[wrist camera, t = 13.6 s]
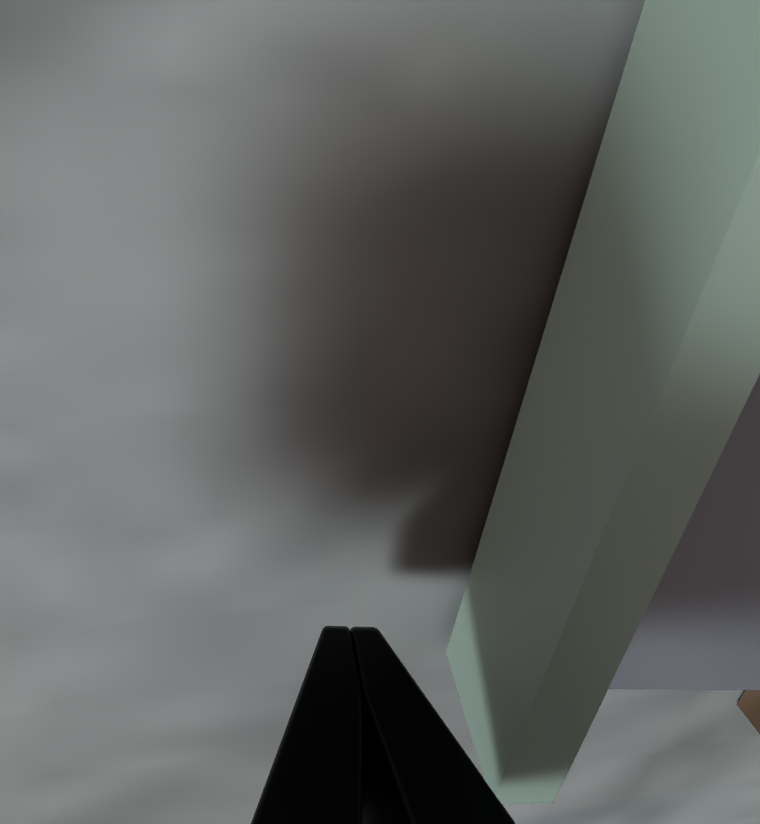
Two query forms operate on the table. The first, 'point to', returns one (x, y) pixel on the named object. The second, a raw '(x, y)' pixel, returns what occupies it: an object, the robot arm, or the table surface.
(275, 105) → the table surface
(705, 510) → the tray
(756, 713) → the dock
